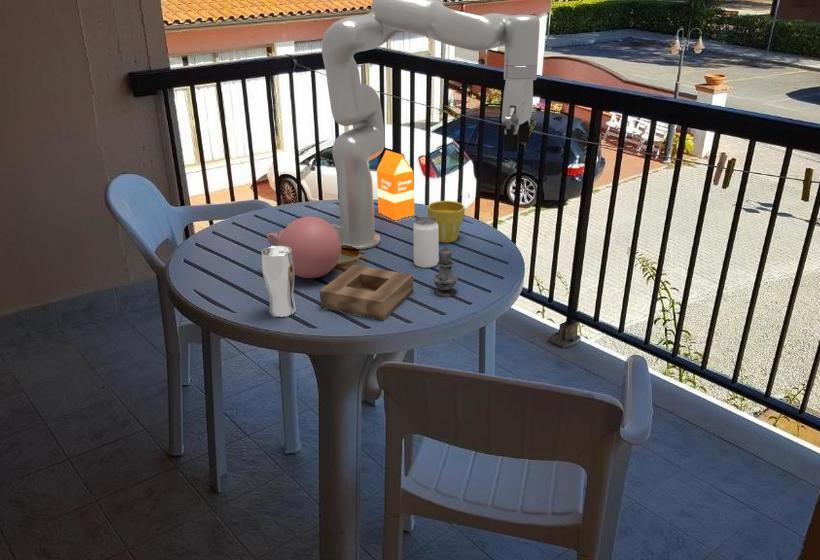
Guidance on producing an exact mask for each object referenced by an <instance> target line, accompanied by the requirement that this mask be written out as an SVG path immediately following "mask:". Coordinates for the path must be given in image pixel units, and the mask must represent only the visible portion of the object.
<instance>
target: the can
mask: <svg viewBox="0 0 820 560" xmlns="http://www.w3.org/2000/svg"><path fill="white" fill-rule="evenodd" d="M412 228H413V229H412V230H413V231H412V232H413V264H414V265H415V266H416V267H418V268H421V269H431V268H434V267H436V266H438V262H439V252H440V249H439V244H440V242H439V232H438V224H437V220H436V219H435V218H432V217H428V216H420V217H417V218H416V219H414V224H413V227H412Z"/></svg>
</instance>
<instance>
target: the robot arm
mask: <svg viewBox="0 0 820 560" xmlns="http://www.w3.org/2000/svg"><path fill="white" fill-rule="evenodd" d="M370 8H371V11H370V12H368V13H367V14H364V15H363V14H361V15H353V16H348V17H344V18H341V19H338V20H337V21H335V22H333V23H332V24H331V25H329V27H328V28H327V29H326V31H325V33H324V34H323V36H322V41H321V54H322V60H323V65H324V71H325V75H326V83H327V90H328V96H329V102H330V103H329V104H330V109H331V115H332V118H333V120H334V121H335V122H336V123H337V125H340V126H342V127H349V126H352V128H351V129H349V130H346V131H345V132H342V133H341V134H340V135H338V136H337V138H336V139H335V140H334V142H333V145H332V148H331V149H332V153H331V154H332V159H333V162H334V167H335V170H336V171H335V172H336V180H337V191H338V192H337V193H338V206H339V221H340V224H337V223H330V224H331V225H332V226H333V227H334V229H335V230H336V231H337V233H338V235H339V238H340V242H341V245H349V246H353V247H355V248H358V249H360V250H366V249H367V248H368V249H371V248H374V247H376V246H378V245H379V244H380V243H381V236H380V235H379V234H378V233H376V230H375V211H374V210H375V209H374V208H375V207H374V189H373V185H374V184H373V177H372V172H371V170H370V168H369V162H370V161H371V160H373V159H376V158H377V157H378V156H380V155H381V154H382V153H383V151H384V149H385V146H386V145H385V144H386V136H385V135H386V133H385V125H384V118H383V117H384V116H383V110H382V103H381V100H380V97H379V95H378V93H377V92H376V90H375V89H374V88H373V87H372V86H370V85H368V84H365V83H361V79H360V78H361V77H360V71H359V67H358V64H357V61H356V60H355V58H354V55H355V54H357V53H360V52H366V51H370V50H374V49H377V48H379V47H381V46H383V45H384V44H385V43H387V42H388V41H389V40H390V39H392V38H394V37H395V36H396V35H398V34H400V33H401V32H407V33H411V34H415V35H419V36H423V37H427V38H430V39H432V40H434V41H438V42H440V43H443V44H445V45H449V46H453V47H456V48H461V49H464V50H468V51H474V52H486V51H488V50H493V49H496V48H499V47H504V59H503V60H504V61H503V63H504V64H503V65H504V66H503V80H505V84H504V89H503V96H502V97H503V98H502V111H501V123H502V124H503V125H504V141H503V142H504V144H503V150H504V151H505V152H515V153H517V152H518V151H519V143H529V142H530V138H531V137H530V134H531V117H532V115H533V114H532V113H533V106H534V105H533V104H534V102H533V101H534V81H536V80H537V78H538V59H539V44H540V42H539V41H540V27H541V26H540V25H541V24H540V22H541V21H540V18H539V17H538V16H537V15H534V14H513V15H512V14H511V15H509V14H503V13H497V12H491V13H487V14H486V13H485V14H480V15H479V14H474V13H469V12H468V13H467V12H463V11H460V10H459V11H458V10H456V9H452V8H449V7H447V6H446V5H444V3H443V2H442V1H441V0H372V3H371V7H370Z"/></svg>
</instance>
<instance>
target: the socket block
mask: <svg viewBox="0 0 820 560" xmlns="http://www.w3.org/2000/svg"><path fill="white" fill-rule="evenodd" d="M413 293H414V274H410V273H404V272H400V271H399V272H398V271H394V270H393V271H392V270H387V269H381V268H375V267H369V266H363V265H357V264H353V265H351V266H350V267H349V268H348V269H346V270H345V271H344V272H342V273H341V274H339V275H338V276H337V277H335V279H333V280H332V281H330V282H329V283H328V284H326V285H325V286H324V287H322V288H321V289H320V290H319V297H320V308H321V307H322V308H327V309H332V310H337V311H342V312H345V313H344V314H347V313H350V314H349V315H352V314H355V315H354V316H357V315H361V316H360V317H362V316H365V317H364V318H367V317H368V319H372V318H374V319H373V320H377V319H378V321H382V320H383V322H384V321H385V320H386V319H388V317H389V316H391V314H392V313H393V312H394V311H395V310H396V309H398V307H400V306H401V305H402V304H403V303H404V302H405V301H406V300H407V299H408V298H409V297H410V296H411V295H412V294H413ZM322 308H321V309H322ZM327 309H326V310H327ZM332 310H331V311H332ZM337 311H336V312H337ZM342 312H341V313H342Z"/></svg>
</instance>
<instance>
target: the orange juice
mask: <svg viewBox="0 0 820 560" xmlns="http://www.w3.org/2000/svg"><path fill="white" fill-rule="evenodd" d="M376 176H377V177H376V178H377V179H376V181H377V187H376V188H377V203H378V208H377V209H378V214H379V213H381V214H383V215H385V216H387V217H389V218H391V219H393V220H398V219H401V218H404V217H408V216H413V215H414V216H415V185H414V184H415V183H414V182H415V179H414V170H413V169H412V167H411V166H410V164H409V163H408V160H407V159H406V158H405V157H404V155H403V154H401V153H397V152H394V151H390V150H387V149H386V150H385V151H384V154H383V156H382V158H381V161H380V163H379V164H378V167H377V169H376ZM414 216H413V217H414ZM393 220H392V221H393Z"/></svg>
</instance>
